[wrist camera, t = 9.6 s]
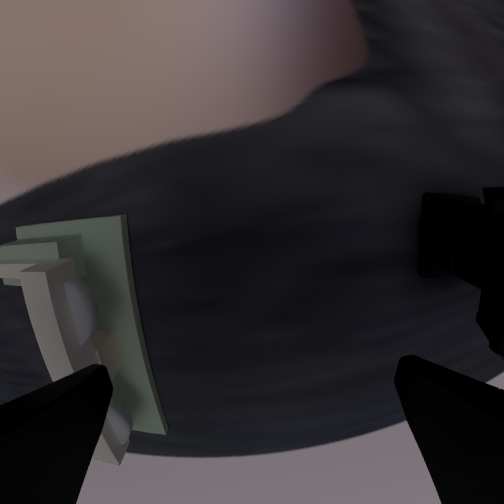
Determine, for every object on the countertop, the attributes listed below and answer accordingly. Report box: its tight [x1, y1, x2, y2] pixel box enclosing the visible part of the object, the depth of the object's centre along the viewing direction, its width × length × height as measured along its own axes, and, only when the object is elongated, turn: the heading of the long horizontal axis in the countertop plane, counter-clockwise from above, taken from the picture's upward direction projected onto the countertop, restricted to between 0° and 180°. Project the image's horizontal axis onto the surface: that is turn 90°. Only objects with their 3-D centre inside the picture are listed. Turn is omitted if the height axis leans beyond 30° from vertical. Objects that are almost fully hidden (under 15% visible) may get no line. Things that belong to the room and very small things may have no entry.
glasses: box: [0, 258, 133, 465], centre depth 15 cm, size 9×16×3 cm, turn 2°
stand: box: [0, 215, 168, 435], centre depth 18 cm, size 11×20×4 cm, turn 2°
